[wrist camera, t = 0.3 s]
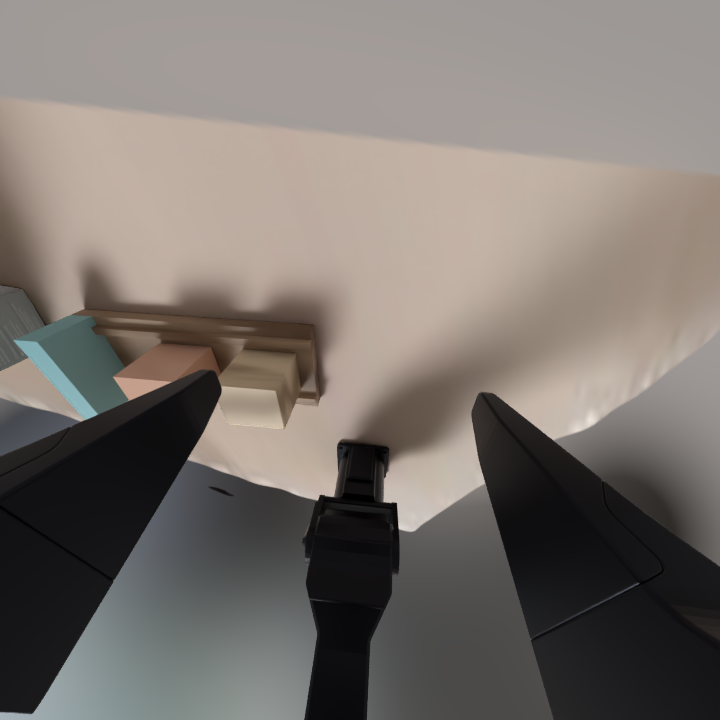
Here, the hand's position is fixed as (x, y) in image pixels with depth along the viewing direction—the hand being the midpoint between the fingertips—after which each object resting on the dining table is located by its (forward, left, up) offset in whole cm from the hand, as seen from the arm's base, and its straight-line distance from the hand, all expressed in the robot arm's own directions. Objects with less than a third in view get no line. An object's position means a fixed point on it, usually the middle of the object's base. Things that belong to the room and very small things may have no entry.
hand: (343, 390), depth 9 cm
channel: (-9, +16, -13) cm, 23 cm away
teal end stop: (-9, +26, -12) cm, 30 cm away
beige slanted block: (-9, +9, -12) cm, 18 cm away
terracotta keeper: (-9, +17, -12) cm, 23 cm away
